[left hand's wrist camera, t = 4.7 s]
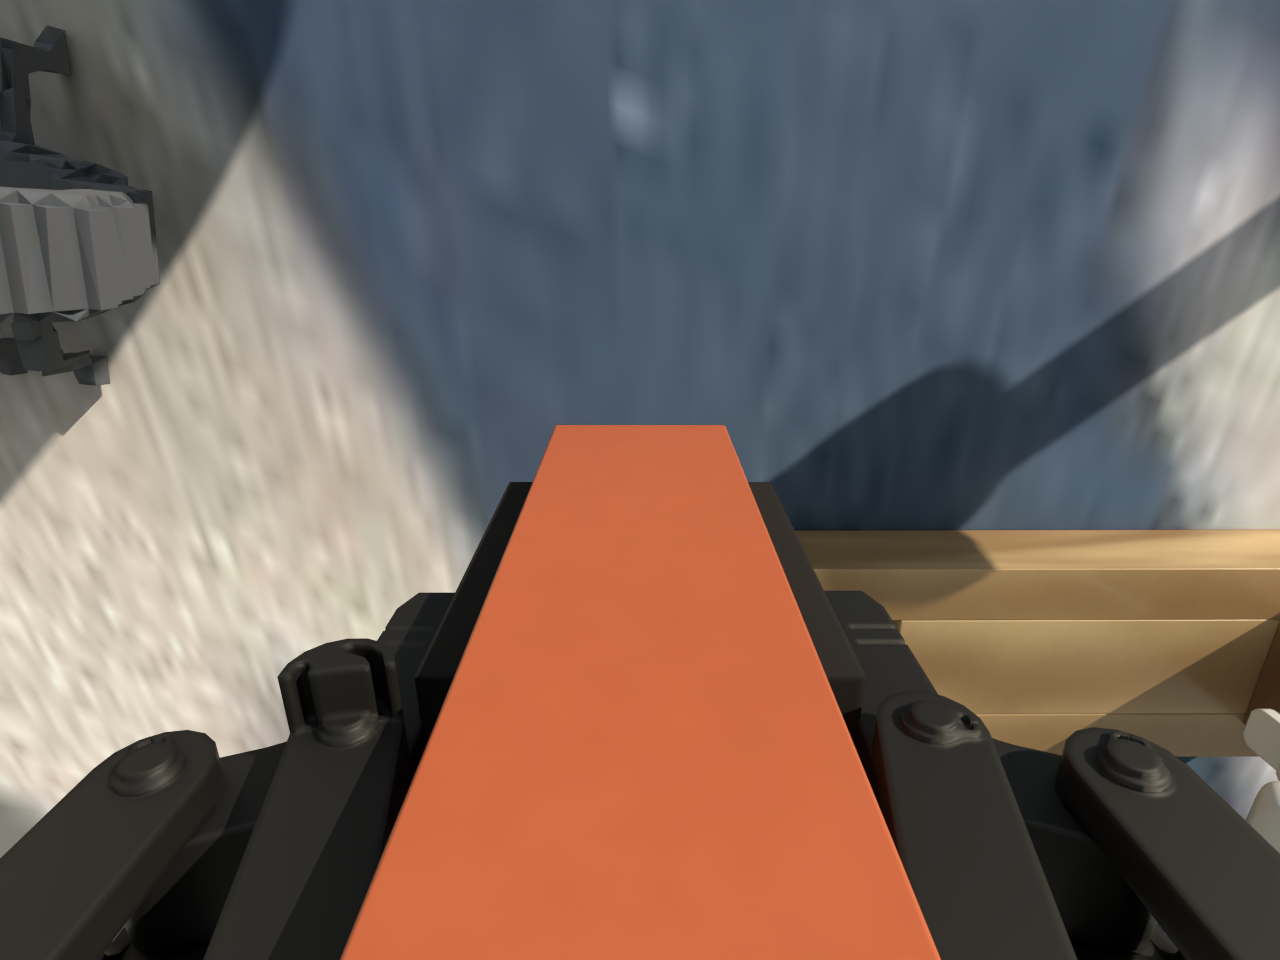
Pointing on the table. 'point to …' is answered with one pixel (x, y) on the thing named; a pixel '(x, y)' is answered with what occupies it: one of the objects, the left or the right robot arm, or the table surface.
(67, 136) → the table surface
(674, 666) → the peg
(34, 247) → the toy
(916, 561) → the board
